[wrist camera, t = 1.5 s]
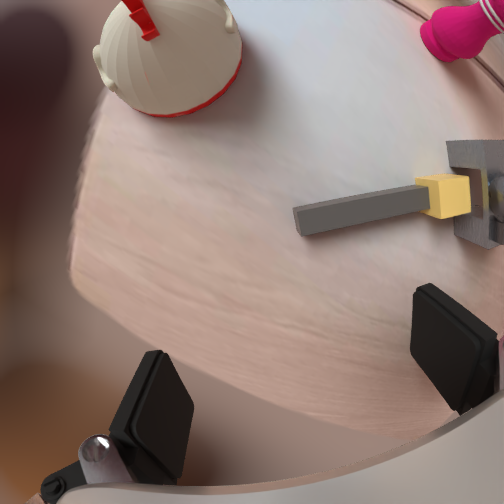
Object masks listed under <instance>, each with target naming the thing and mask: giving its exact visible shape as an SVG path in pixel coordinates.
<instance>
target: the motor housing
mask: <svg viewBox="0 0 504 504" xmlns="http://www.w3.org/2000/svg"><path fill="white" fill-rule="evenodd" d="M446 144H447V150H448V157H449V164H450V167H461V168H472V169H481V180H482V194H483V207H482V206H478V205H475V206H471V212H469V213H465V214H461V215H457V216H454V235H456V236H459V237H461V238H463V239H466V240H468V241H470V242H472V243H475V244H477V245H479V246H481V247H484V248H486V249H491V248H493V247H496V246H498V245H503V244H504V140H457V141H446Z"/></svg>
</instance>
